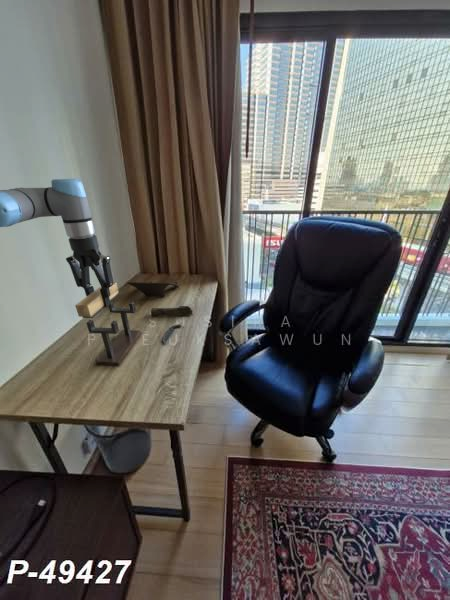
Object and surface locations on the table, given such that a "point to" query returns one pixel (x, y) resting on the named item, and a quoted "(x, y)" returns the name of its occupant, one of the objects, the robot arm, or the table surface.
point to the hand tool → (172, 311)
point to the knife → (170, 333)
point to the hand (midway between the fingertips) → (101, 305)
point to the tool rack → (122, 342)
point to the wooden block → (94, 302)
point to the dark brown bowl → (152, 288)
